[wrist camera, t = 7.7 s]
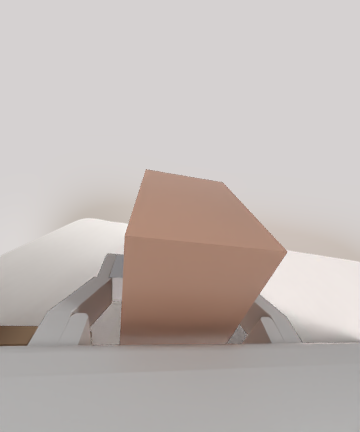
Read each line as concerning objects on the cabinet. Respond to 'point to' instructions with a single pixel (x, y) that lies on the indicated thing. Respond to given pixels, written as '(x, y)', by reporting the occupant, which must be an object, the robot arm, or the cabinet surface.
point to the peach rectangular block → (191, 262)
